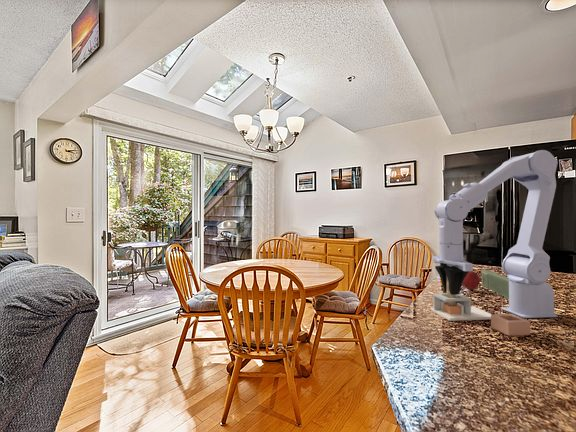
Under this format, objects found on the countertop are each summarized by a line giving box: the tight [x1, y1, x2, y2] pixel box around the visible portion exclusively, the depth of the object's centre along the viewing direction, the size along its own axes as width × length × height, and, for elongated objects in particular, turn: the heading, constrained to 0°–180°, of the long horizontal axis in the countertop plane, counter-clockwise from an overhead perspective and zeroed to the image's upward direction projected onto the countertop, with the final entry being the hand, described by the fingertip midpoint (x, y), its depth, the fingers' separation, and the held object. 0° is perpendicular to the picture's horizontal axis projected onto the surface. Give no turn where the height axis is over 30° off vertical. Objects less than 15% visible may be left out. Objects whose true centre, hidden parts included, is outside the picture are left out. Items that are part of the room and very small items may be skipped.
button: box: [444, 304, 460, 314], centre depth 80 cm, size 3×3×2 cm
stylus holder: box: [490, 313, 531, 337], centre depth 69 cm, size 5×5×3 cm
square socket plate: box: [429, 292, 493, 322], centre depth 81 cm, size 13×9×5 cm
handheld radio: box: [480, 269, 509, 300], centre depth 100 cm, size 7×3×25 cm
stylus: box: [446, 275, 456, 306], centre depth 80 cm, size 2×2×8 cm
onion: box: [462, 271, 481, 291], centre depth 106 cm, size 6×6×8 cm
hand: (451, 292), depth 80 cm, fingers closed on stylus, 2 cm apart
